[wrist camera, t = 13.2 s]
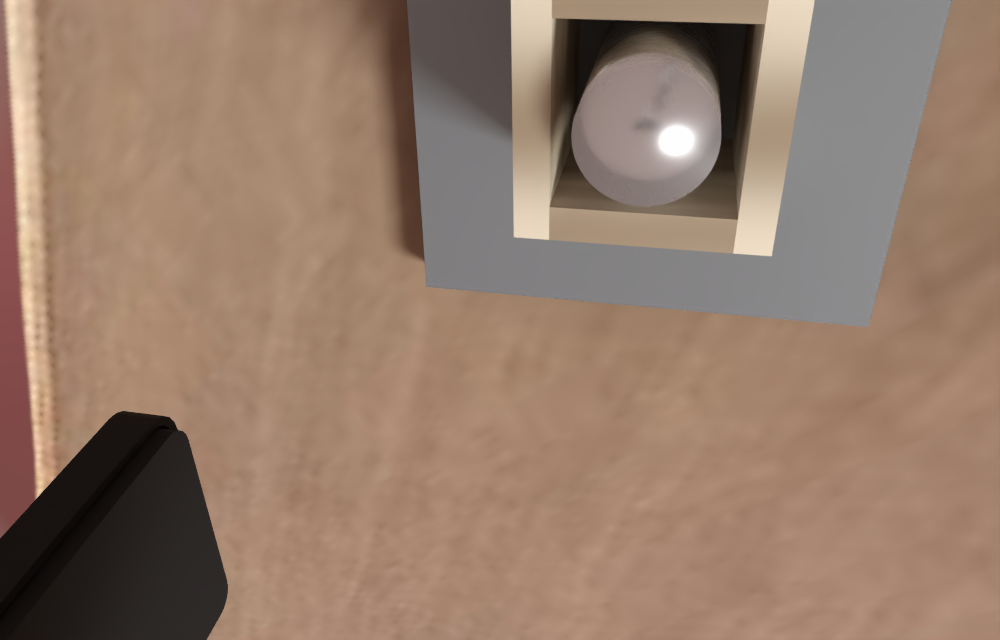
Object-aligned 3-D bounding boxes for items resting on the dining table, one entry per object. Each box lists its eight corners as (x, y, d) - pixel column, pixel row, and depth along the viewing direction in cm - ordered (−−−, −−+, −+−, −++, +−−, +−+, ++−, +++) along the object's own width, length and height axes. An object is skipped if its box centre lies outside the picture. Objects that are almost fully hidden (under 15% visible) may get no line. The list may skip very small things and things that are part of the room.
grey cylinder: (603, -4, 26) (573, 61, 20) (725, -1, 26) (730, 68, 20) (597, 111, 28) (569, 201, 22) (710, 117, 27) (711, 211, 22)
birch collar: (548, -67, 26) (510, -27, 21) (795, -65, 24) (818, -21, 19) (546, 157, 29) (513, 237, 24) (760, 169, 28) (771, 256, 23)
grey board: (402, -287, 25) (386, -290, 23) (1011, -304, 22) (1030, -308, 21) (436, 267, 34) (426, 286, 33) (861, 304, 31) (868, 326, 30)
